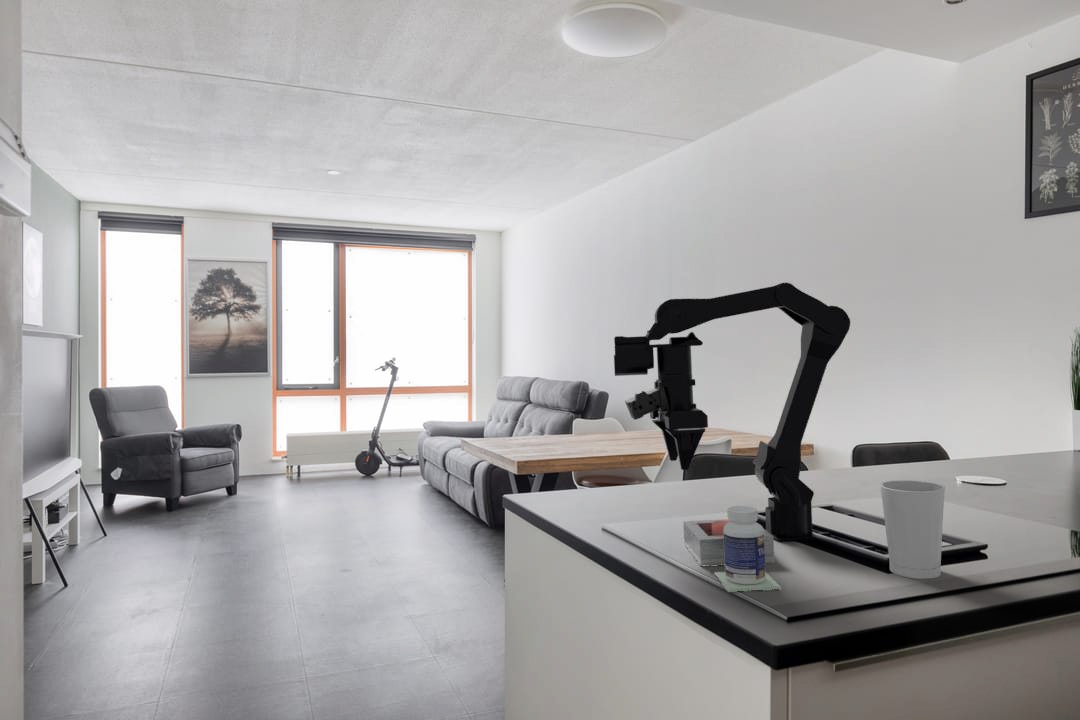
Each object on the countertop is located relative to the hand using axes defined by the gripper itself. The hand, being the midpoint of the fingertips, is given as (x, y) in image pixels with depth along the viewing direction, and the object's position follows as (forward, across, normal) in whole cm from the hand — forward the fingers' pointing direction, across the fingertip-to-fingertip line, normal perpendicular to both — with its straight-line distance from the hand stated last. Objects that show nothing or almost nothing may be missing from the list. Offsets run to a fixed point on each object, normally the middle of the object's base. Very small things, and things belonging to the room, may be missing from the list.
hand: (678, 465), depth 119 cm
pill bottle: (+12, +23, +4) cm, 26 cm away
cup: (+13, +22, +28) cm, 38 cm away
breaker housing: (+12, +10, +5) cm, 17 cm away
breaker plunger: (+11, +10, +5) cm, 16 cm away
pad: (+12, +23, +4) cm, 26 cm away
